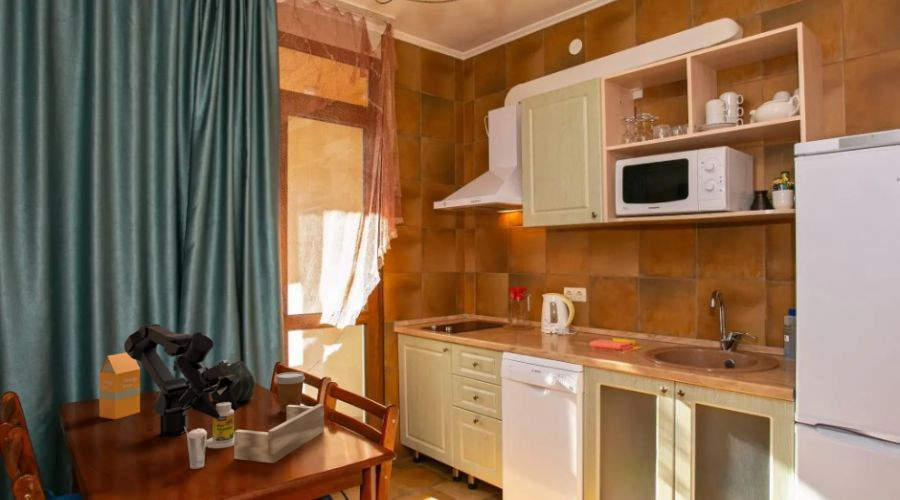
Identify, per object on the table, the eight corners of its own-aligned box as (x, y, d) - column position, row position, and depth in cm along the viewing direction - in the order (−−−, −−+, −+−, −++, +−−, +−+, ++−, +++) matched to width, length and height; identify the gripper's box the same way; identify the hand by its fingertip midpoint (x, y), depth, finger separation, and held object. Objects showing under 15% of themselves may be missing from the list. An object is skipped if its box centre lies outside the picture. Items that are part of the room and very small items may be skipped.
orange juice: (98, 416, 178) (98, 355, 178) (124, 409, 186) (124, 350, 186) (115, 419, 175) (115, 356, 175) (140, 411, 183) (140, 352, 183)
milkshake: (187, 463, 138) (187, 423, 138) (209, 462, 139) (209, 423, 139) (180, 470, 134) (180, 429, 134) (203, 469, 134) (203, 428, 134)
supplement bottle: (214, 445, 150) (214, 407, 150) (210, 439, 155) (210, 403, 155) (235, 441, 153) (236, 404, 153) (231, 435, 158) (231, 400, 158)
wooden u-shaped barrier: (234, 458, 141) (234, 427, 141) (289, 427, 166) (289, 401, 166) (273, 463, 138) (273, 431, 138) (323, 431, 163) (323, 404, 163)
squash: (195, 388, 193) (218, 358, 190) (227, 380, 207) (249, 352, 204) (217, 418, 189) (241, 388, 185) (249, 409, 202) (271, 380, 199)
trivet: (199, 449, 148) (199, 447, 148) (210, 436, 158) (210, 435, 158) (238, 447, 150) (238, 445, 150) (246, 435, 159) (246, 433, 159)
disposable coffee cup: (310, 407, 188) (310, 372, 188) (295, 415, 179) (295, 378, 179) (285, 405, 190) (285, 371, 190) (269, 413, 181) (269, 377, 181)
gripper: (187, 359, 146) (222, 403, 143) (233, 347, 164) (265, 386, 161) (163, 386, 148) (197, 431, 145) (211, 372, 166) (242, 411, 163)
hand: (227, 413), depth 153 cm, fingers open, 7 cm apart
